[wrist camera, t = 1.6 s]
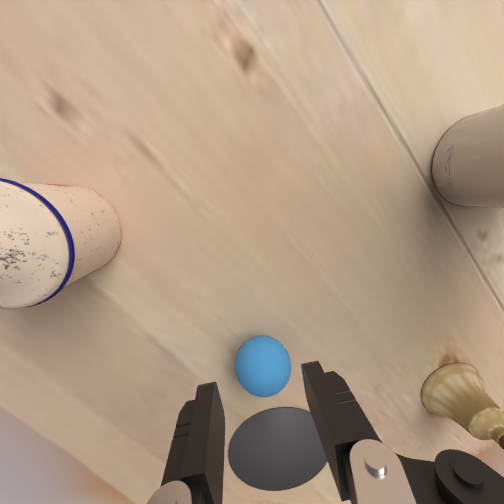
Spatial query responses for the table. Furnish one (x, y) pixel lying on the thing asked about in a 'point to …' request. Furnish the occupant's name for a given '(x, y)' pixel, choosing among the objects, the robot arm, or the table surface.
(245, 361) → the ball
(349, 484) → the robot arm
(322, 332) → the table surface
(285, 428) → the charcoal disc
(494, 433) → the hand bell
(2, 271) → the teacup with lid
